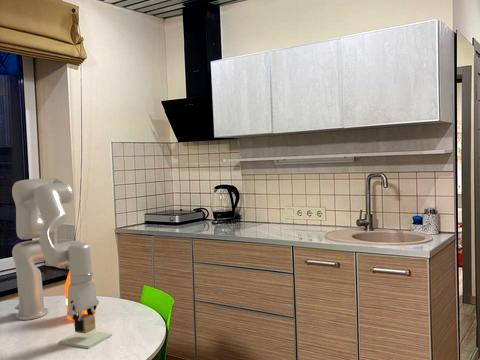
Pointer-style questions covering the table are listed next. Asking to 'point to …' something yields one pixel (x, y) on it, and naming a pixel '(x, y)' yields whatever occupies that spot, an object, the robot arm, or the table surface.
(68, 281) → the orange juice
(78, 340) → the sage board
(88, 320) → the walnut cube
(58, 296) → the table surface
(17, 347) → the table surface
